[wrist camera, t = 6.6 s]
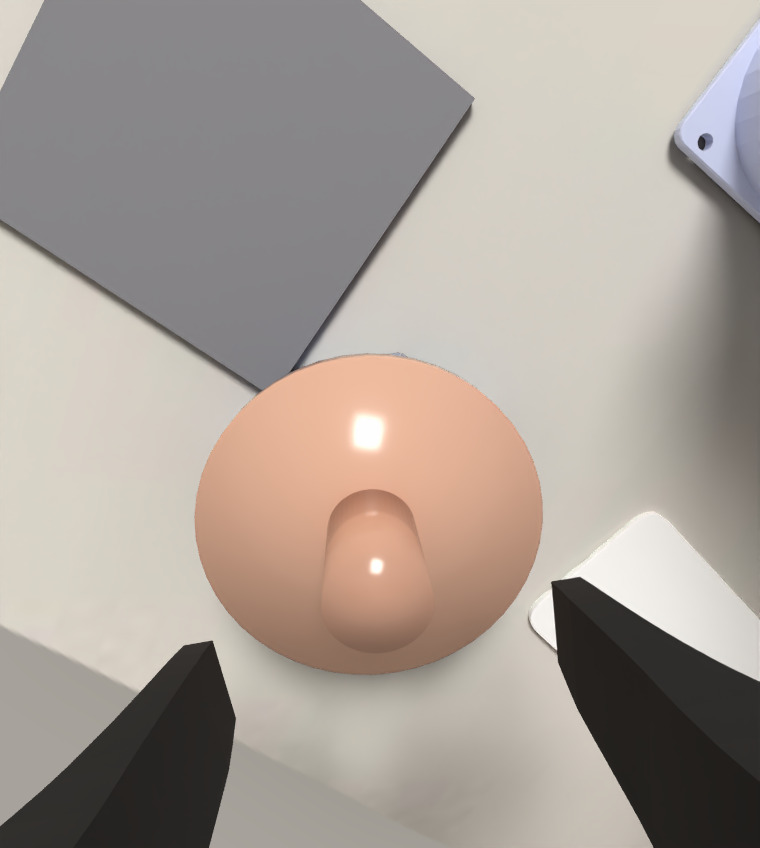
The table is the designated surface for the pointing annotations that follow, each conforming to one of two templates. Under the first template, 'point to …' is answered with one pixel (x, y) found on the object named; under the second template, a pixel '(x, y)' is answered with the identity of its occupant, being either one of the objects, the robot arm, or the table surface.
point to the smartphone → (666, 593)
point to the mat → (219, 158)
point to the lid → (368, 514)
